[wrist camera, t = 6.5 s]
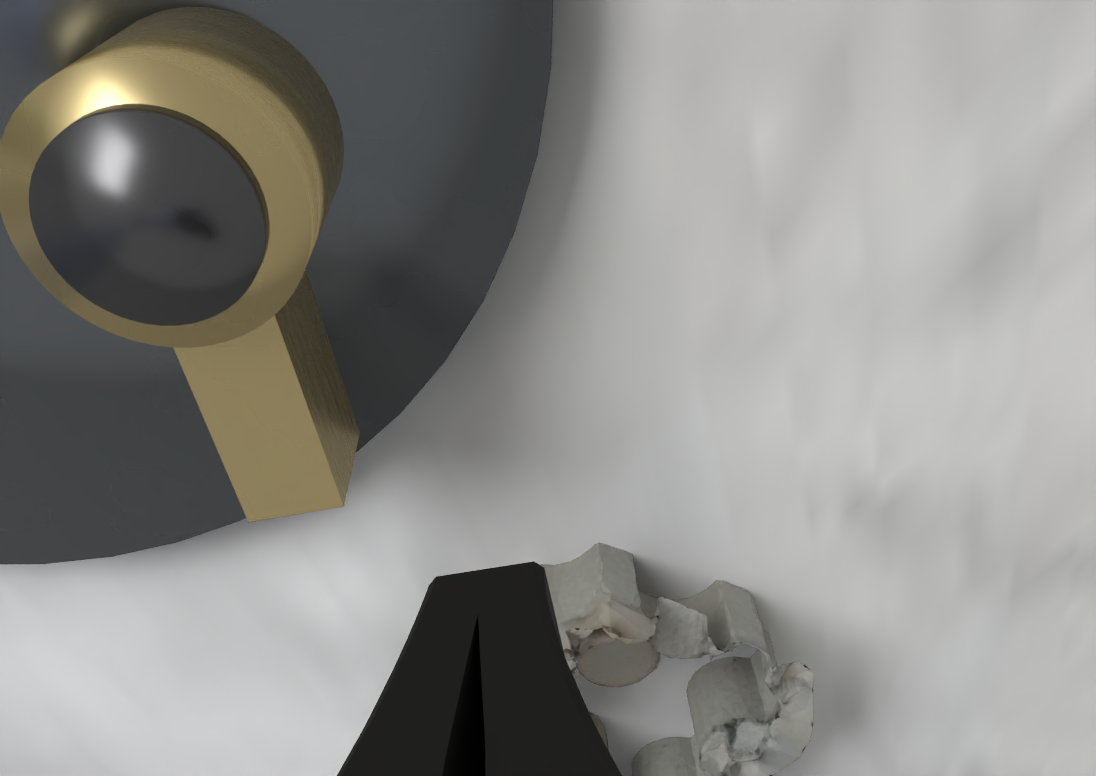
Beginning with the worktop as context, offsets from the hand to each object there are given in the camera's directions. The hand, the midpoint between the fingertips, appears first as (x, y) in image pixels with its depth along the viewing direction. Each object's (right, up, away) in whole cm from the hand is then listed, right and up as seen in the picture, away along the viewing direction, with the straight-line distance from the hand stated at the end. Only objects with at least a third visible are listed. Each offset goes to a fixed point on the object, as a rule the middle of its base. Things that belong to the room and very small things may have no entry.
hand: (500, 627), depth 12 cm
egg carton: (+2, -5, +15) cm, 16 cm away
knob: (-5, +6, +6) cm, 10 cm away
